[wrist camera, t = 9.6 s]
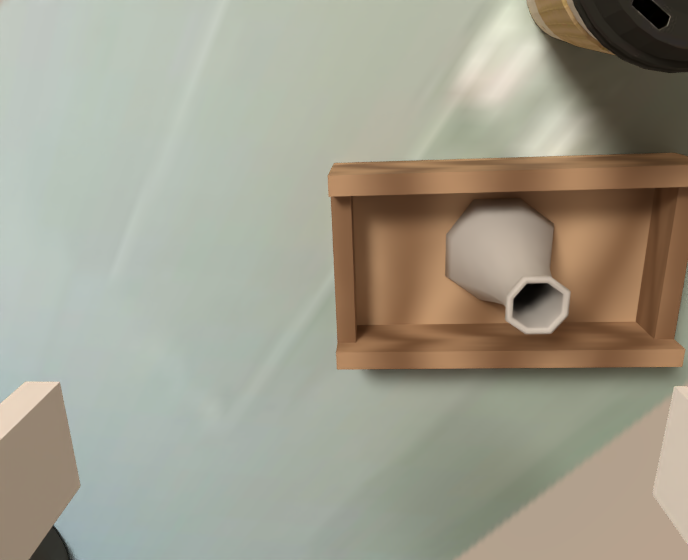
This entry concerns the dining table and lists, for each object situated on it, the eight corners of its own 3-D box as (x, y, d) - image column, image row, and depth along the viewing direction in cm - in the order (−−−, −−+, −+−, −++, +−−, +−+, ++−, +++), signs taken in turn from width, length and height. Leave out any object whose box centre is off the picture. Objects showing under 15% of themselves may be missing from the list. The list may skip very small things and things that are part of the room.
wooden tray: (341, 335, 41) (336, 369, 36) (333, 163, 37) (327, 175, 32) (645, 332, 40) (682, 366, 35) (673, 152, 36) (719, 164, 31)
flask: (528, 312, 39) (576, 387, 29) (427, 282, 38) (444, 349, 29) (571, 213, 36) (639, 260, 27) (464, 181, 36) (495, 217, 27)
